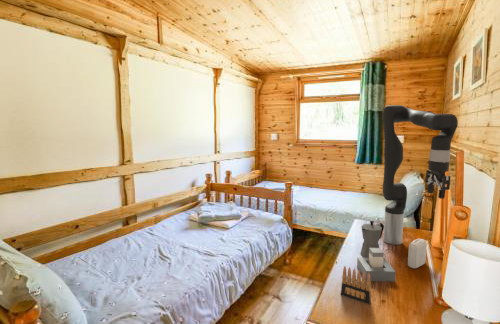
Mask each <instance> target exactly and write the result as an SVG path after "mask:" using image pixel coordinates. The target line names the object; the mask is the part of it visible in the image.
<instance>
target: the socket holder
mask: <svg viewBox="0 0 500 324" xmlns="http://www.w3.org/2000/svg"><path fill="white" fill-rule="evenodd" d="M356 267H357V269H358V270H360V274H361V275H362V274H363V272H365V279H366V282H367V275H368V273H370V282H395V283H396V270H395V269H394V268H393V266H391V264H390V263H389V262H388V261H387V259H386V258H385V257H383V268H371V267H370V266H369V258H365V257H363V256H362V257H360V256H359V257H357V259H356Z"/></svg>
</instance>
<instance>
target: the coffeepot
mask: <svg viewBox="0 0 500 324" xmlns="http://www.w3.org/2000/svg"><path fill="white" fill-rule="evenodd" d="M374 222H375V221H373V220H370V221H369V223H363V224H362V225H361V233H362V239H363V242H362V246H361V250H360V254H361V256H362V257H363V258H369V248H380V244H379V241H380V239H382V235H383V233H384V224H383V223H382V222H380V223H376V224H374Z"/></svg>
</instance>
